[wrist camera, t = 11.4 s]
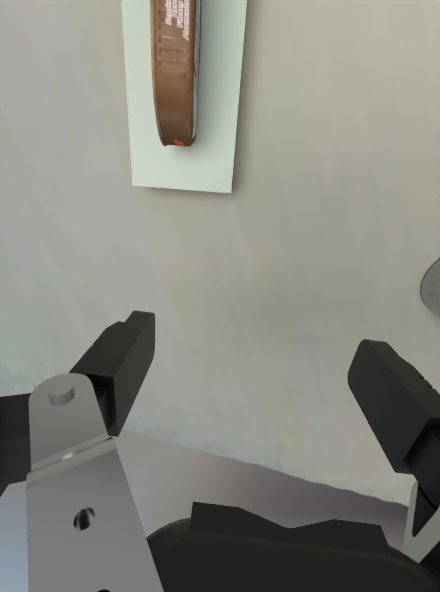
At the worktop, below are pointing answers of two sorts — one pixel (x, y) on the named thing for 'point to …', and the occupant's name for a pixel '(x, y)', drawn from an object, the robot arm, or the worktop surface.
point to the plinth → (211, 101)
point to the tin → (175, 68)
